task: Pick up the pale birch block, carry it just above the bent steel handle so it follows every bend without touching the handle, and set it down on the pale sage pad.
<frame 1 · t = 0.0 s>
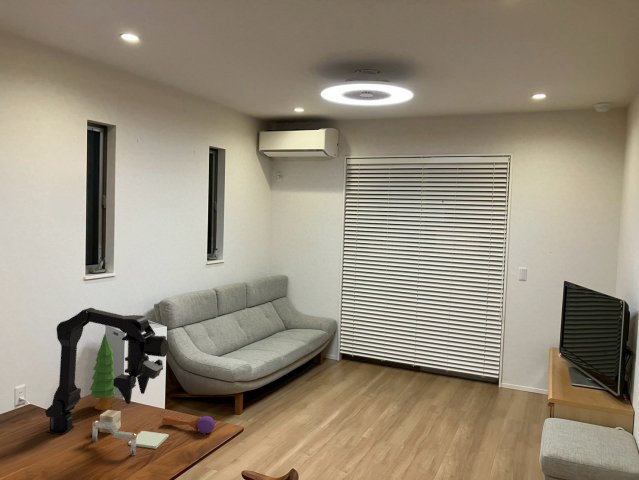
hand: (135, 398, 173), 15 cm above the table, tool pointing down, fingers open, 9 cm apart
birch block: (110, 429, 181), on the table
sage pad: (148, 440, 174), on the table
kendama: (188, 429, 184), on the table
decorative tree: (102, 406, 200), on the table
steel handle: (113, 446, 169), on the table
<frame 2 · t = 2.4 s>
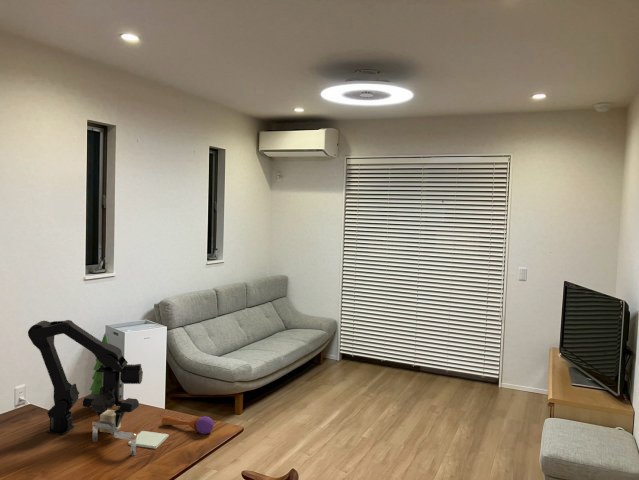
hand: (110, 426, 181), 1 cm above the table, tool pointing down, fingers closed on birch block, 5 cm apart
birch block: (110, 429, 181), on the table, touching gripper
everything else where it was.
when the fingers open (3 cm above the table, at t = 12.7 s): birch block stays where it is, resting on sage pad.
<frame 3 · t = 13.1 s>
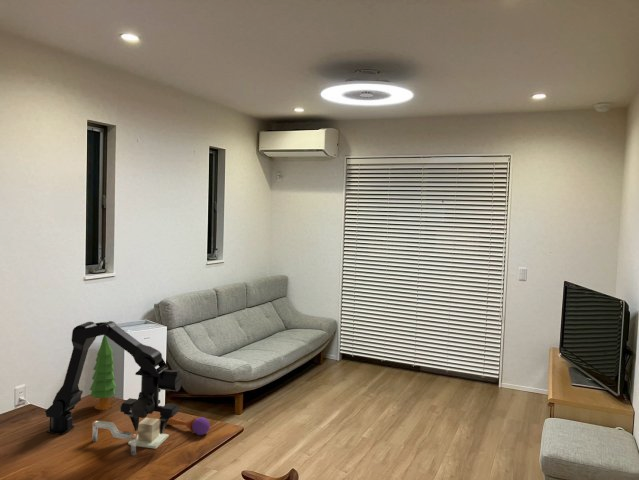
hand: (148, 432, 174), 3 cm above the table, tool pointing down, fingers open, 9 cm apart
birch block: (148, 438, 174), point 1 cm above the table, touching sage pad
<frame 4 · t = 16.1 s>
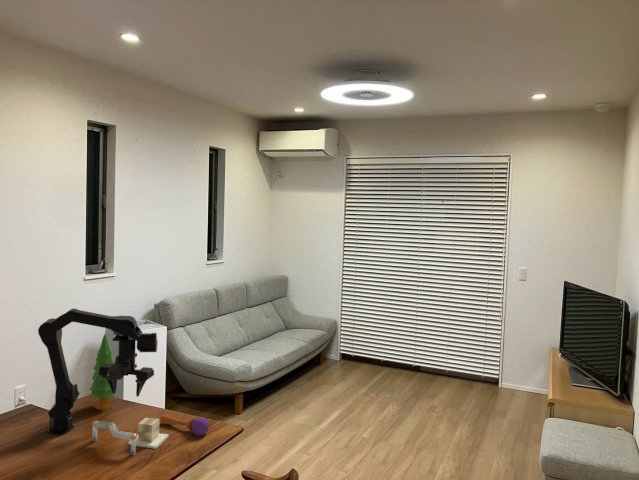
hand: (125, 394, 182), 12 cm above the table, tool pointing down, fingers open, 9 cm apart
at the end: birch block inside the target area (0.1 cm from its centre), point 0.8 cm above the table; birch block touching sage pad; the gripper is holding nothing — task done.
